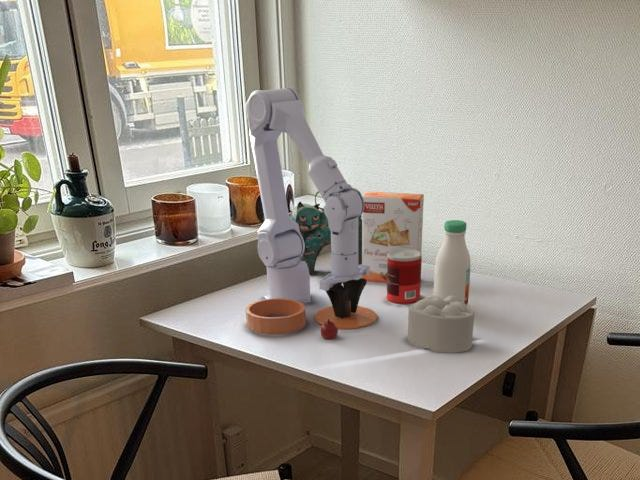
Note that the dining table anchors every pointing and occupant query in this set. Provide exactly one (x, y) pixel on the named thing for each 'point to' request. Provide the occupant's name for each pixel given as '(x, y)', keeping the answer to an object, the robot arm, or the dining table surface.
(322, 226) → the ceramic cat
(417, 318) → the lumpy-topped squat cylinder
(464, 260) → the milk bottle
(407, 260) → the canned food
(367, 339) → the dining table surface
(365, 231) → the cracker box
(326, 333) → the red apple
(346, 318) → the lid
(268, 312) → the pot
